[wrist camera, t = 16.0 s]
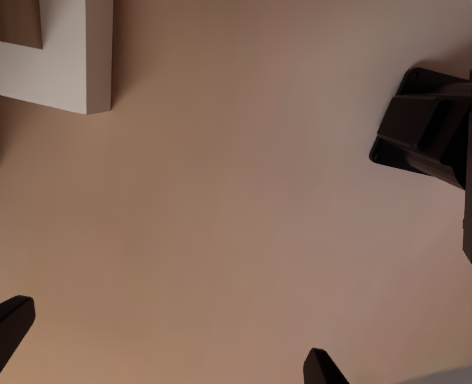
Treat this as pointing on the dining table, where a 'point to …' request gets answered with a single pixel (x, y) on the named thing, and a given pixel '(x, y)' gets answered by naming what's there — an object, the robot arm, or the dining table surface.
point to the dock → (64, 58)
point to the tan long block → (21, 23)
